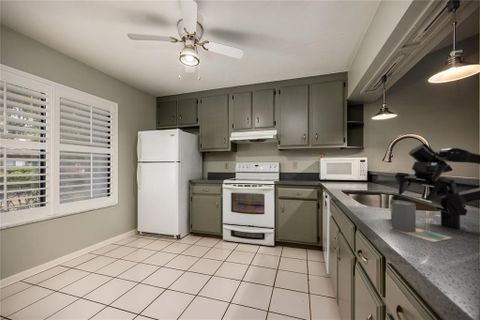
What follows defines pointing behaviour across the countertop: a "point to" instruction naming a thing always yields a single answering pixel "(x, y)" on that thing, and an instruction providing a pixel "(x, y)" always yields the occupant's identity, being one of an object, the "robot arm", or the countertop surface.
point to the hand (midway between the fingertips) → (412, 196)
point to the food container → (398, 201)
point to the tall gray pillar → (403, 216)
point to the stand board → (425, 234)
